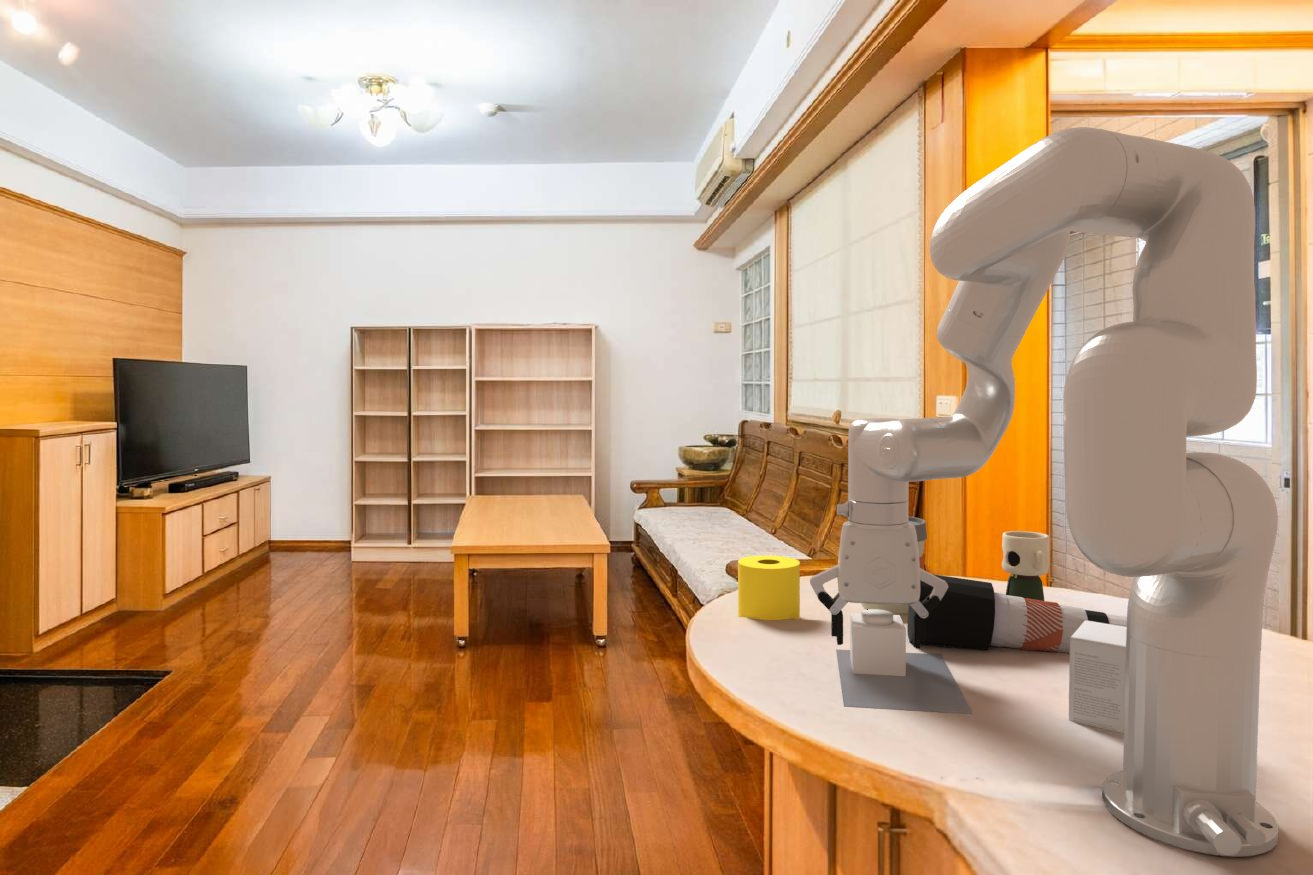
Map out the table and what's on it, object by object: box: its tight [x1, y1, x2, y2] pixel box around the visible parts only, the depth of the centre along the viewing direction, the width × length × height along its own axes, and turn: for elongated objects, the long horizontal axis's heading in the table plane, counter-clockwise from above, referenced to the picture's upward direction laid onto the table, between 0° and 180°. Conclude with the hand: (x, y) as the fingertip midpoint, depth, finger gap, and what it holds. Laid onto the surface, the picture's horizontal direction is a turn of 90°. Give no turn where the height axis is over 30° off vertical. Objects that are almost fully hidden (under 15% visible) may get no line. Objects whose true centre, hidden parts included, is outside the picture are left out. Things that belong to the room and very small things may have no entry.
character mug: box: [1001, 530, 1050, 601], centre depth 131 cm, size 11×7×13 cm, turn 1°
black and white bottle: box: [906, 573, 1127, 656], centre depth 110 cm, size 10×34×10 cm
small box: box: [1068, 620, 1127, 734], centre depth 86 cm, size 8×6×10 cm
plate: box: [835, 649, 974, 715], centre depth 98 cm, size 20×14×1 cm
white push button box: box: [849, 609, 907, 676], centre depth 102 cm, size 6×6×7 cm
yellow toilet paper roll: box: [737, 554, 801, 621], centre depth 129 cm, size 10×10×9 cm
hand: (877, 643), depth 102 cm, fingers open, 9 cm apart
